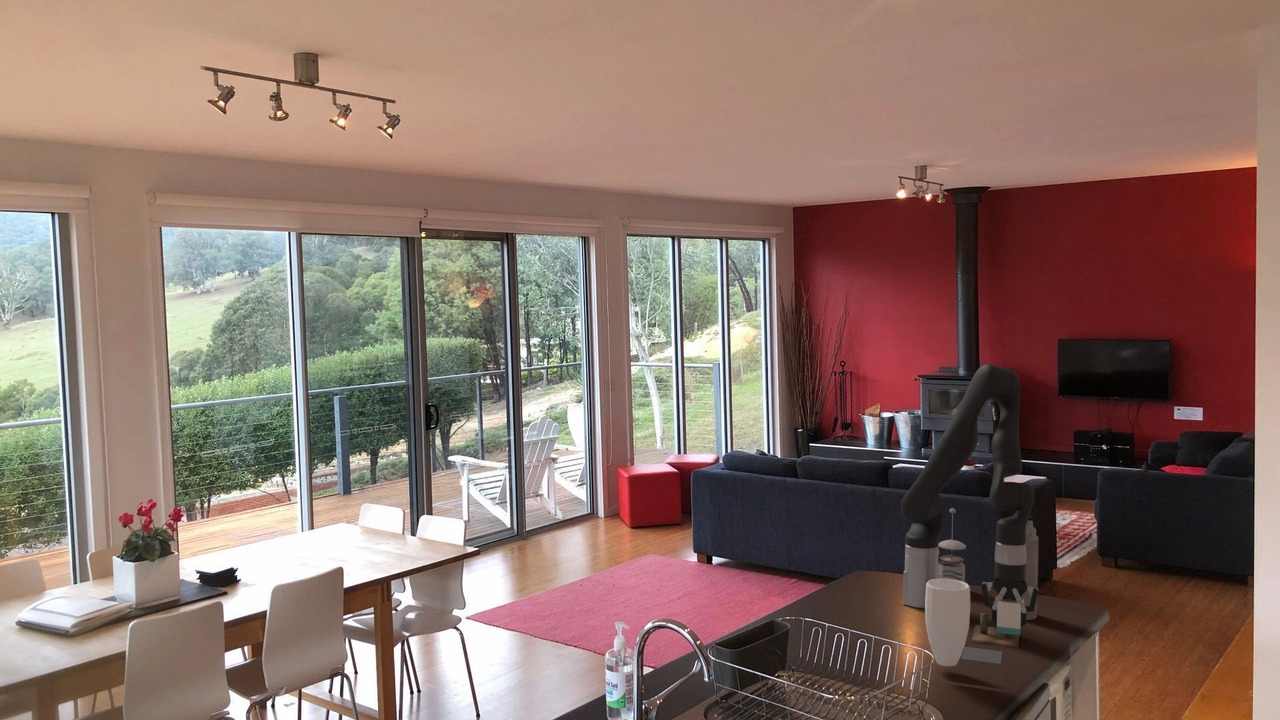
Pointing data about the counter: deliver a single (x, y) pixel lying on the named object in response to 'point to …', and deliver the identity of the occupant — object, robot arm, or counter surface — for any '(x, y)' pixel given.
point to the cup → (947, 618)
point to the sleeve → (1008, 617)
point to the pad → (982, 655)
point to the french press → (951, 559)
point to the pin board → (992, 634)
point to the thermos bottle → (1031, 564)
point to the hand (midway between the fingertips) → (1009, 624)
